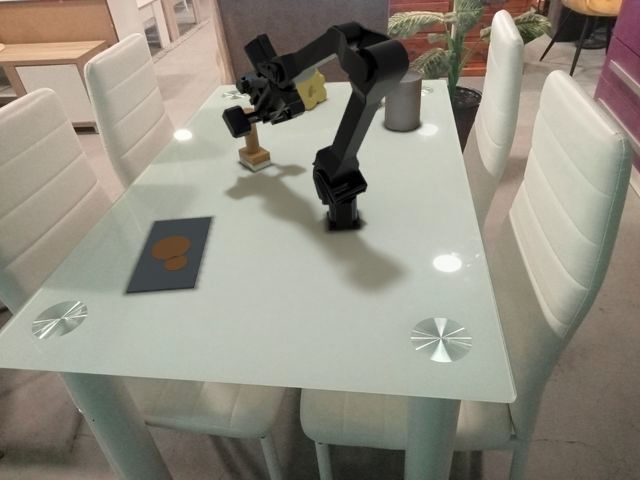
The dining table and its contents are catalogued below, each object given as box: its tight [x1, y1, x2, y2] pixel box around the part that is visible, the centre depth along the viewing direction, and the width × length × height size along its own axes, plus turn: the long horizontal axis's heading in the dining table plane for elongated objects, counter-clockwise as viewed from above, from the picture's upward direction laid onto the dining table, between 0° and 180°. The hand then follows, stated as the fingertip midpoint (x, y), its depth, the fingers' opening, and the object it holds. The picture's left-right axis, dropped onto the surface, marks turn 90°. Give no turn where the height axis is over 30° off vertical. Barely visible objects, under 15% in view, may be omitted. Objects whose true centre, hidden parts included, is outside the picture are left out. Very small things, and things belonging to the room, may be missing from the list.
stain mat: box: [125, 216, 212, 294], centre depth 93 cm, size 22×12×1 cm, turn 2°
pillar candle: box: [384, 69, 423, 132], centre depth 129 cm, size 10×10×15 cm
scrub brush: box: [237, 107, 272, 172], centre depth 117 cm, size 7×5×14 cm
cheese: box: [296, 68, 328, 111], centre depth 149 cm, size 10×11×10 cm
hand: (255, 129), depth 113 cm, fingers open, 9 cm apart
